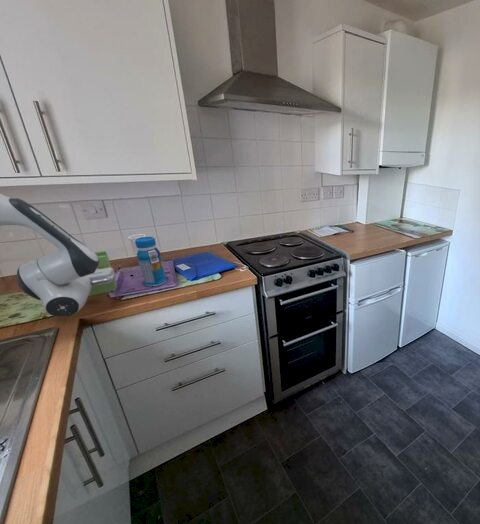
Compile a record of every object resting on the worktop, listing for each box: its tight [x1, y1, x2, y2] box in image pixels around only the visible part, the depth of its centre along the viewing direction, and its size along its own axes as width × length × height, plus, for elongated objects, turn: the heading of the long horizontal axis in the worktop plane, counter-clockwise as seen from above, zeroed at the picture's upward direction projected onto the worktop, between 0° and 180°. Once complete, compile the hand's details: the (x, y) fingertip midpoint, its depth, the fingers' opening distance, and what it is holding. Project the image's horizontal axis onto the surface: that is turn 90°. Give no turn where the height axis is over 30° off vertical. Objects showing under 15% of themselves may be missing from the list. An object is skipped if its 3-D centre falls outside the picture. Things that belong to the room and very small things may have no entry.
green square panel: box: [88, 250, 118, 297], centre depth 117 cm, size 14×5×16 cm, turn 122°
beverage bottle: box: [134, 236, 167, 288], centre depth 125 cm, size 8×8×20 cm
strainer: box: [127, 233, 147, 256], centre depth 148 cm, size 7×7×15 cm
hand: (82, 272), depth 110 cm, fingers closed on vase, 7 cm apart
